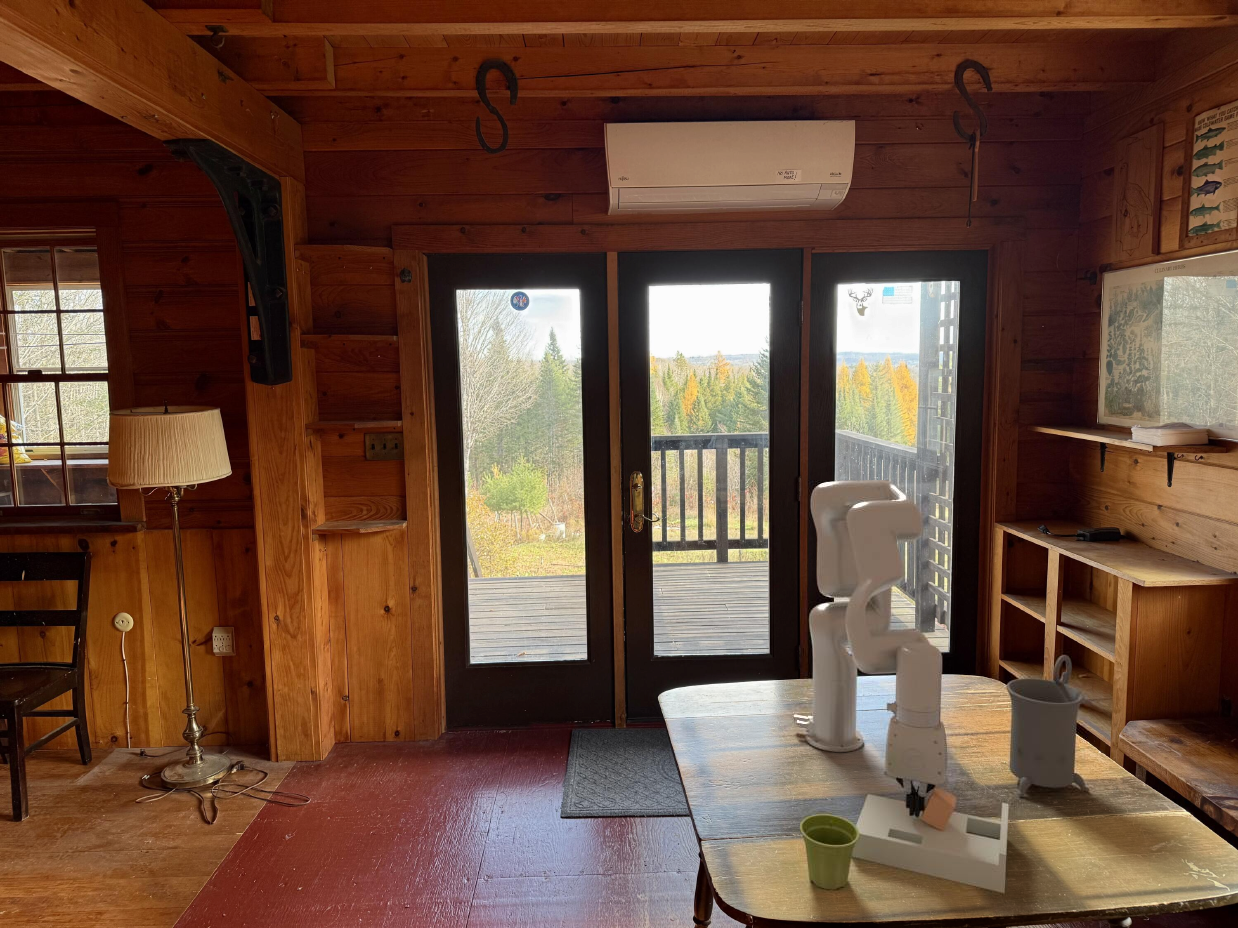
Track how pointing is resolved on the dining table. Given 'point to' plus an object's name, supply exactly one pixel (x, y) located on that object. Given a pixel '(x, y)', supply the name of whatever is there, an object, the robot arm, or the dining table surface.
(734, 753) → the dining table surface
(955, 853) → the tray
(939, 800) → the block
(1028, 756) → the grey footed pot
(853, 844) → the plant pot
